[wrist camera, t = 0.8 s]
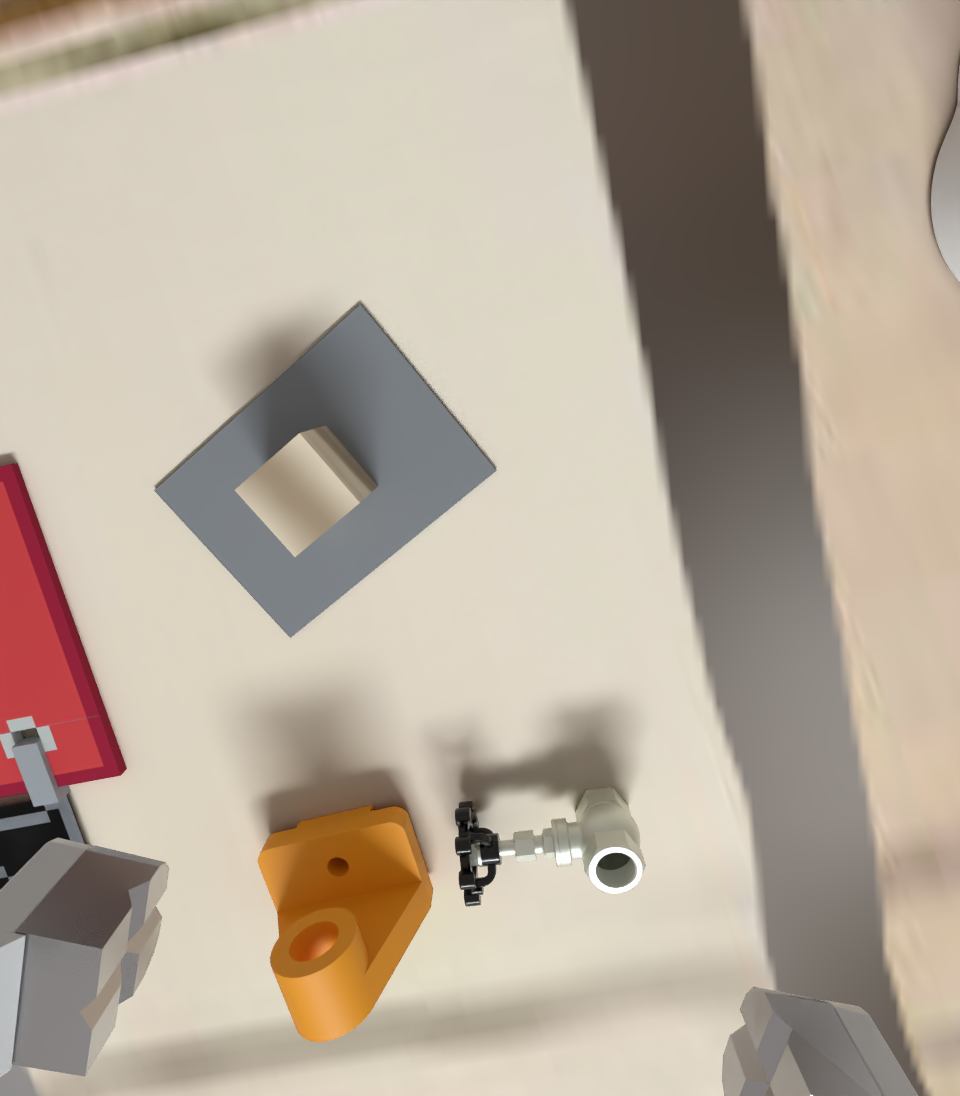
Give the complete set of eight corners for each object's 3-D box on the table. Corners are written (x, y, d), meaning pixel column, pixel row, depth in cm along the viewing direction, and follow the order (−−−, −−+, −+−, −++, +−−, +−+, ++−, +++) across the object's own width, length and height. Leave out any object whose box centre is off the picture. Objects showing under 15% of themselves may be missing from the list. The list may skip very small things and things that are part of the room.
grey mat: (361, 304, 44) (360, 304, 43) (496, 470, 46) (496, 470, 45) (155, 490, 47) (154, 490, 46) (291, 636, 49) (290, 638, 49)
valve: (626, 763, 50) (458, 782, 51) (644, 820, 44) (451, 841, 45) (635, 844, 52) (471, 862, 53) (653, 911, 46) (467, 930, 46)
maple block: (325, 425, 45) (299, 432, 39) (378, 486, 46) (359, 502, 40) (268, 475, 46) (234, 490, 40) (320, 534, 47) (295, 557, 41)
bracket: (406, 796, 52) (378, 920, 40) (434, 881, 53) (414, 1023, 42) (266, 828, 53) (198, 958, 41) (297, 910, 54) (241, 1057, 43)
